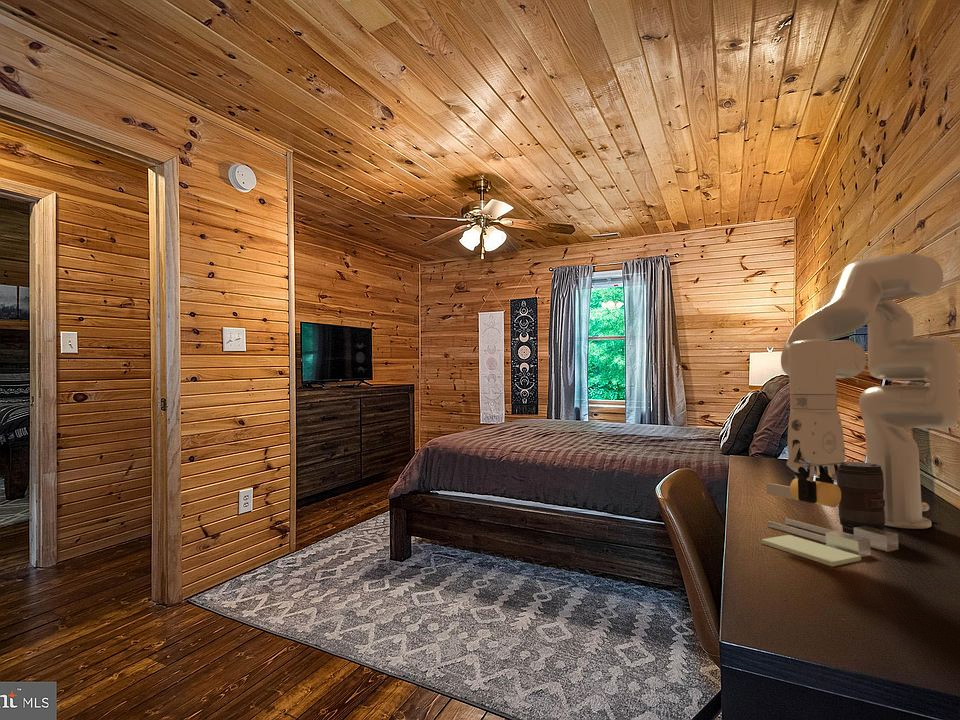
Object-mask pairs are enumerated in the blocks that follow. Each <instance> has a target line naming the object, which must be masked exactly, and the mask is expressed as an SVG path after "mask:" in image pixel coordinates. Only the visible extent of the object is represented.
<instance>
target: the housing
mask: <svg viewBox="0 0 960 720" xmlns="http://www.w3.org/2000/svg"><path fill="white" fill-rule="evenodd" d="M767 527H769V528H771V529H775V530H777V531H778V530H779V531H783V532H786V533H789V534H791V535H794V536H795V535H796V536H800V537H802V538H805V539H806V538H807V539H810V540H813V541H817V542H820V543H823V544H825V545H826V546H829V547H832V548H836V549H839V550H843V551H846V552H849V553H853V554H856V555H860V556H861V558H864V557H865V558H866V557H869V556H871V555H872V553H871V549H872V548H873V549H876V550H880V551H884V552H887V553H888V552H893V551H897V550H899V549H900V548H899V547H900V546H899V545H900V544H899V533H897V532H892V531H888V530H885V529H884V530H880V529H876V528H872V527H868V526H860V527H855V528H854V535H852V534H849V533H845V532H843V531H840V530H834V529H833V530H832V529H830V528H825V527H821V526H817V525H815V524H814V525H813V524H810V523H807V522H802V521H800V520H794V519H792V518H788V517H787V518H786V517H785V518H784V524H782V523H778V522H776V521H775V522H774V521H771V520H767ZM799 528H800V529H799ZM810 531H811V532H810Z"/></svg>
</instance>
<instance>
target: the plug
mask: <svg viewBox="0 0 960 720" xmlns="http://www.w3.org/2000/svg"><path fill="white" fill-rule="evenodd" d="M814 481H815V480H814ZM815 482H816V494H817V502H816V503H814V504H816V505H821V506H825V507H830V508H836V507H839V503H840V501H841V491H840V488H839V487H838V486H837V483H836V484H835V483H834V484H831V483H825V482H818V481H815ZM765 486H766V487H765V490H766V491H765V493H766V494H765V495H769V496H774V497H775V496H776V497H779V498H783V499H784V498H785V499H789V500H794V501H795V500H796V501H800V500H799V499H798V479H796V478H793V479H792V480H791V482H790V486H788V485H785V484H784V485H782V484H777V483H769V482H766V485H765Z"/></svg>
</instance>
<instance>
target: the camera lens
mask: <svg viewBox="0 0 960 720" xmlns="http://www.w3.org/2000/svg"><path fill="white" fill-rule="evenodd" d="M835 474H836V485H837V486H838V487H839V488H840V491H841V501H840V503H839V505H838V517H839V523H840V525H841V528H842V529H841V530H842V532H845V533H849V534H852V535H854V528H855V527H860V526H868V527H872V528H876V529H880V530H884V531H885V525H884V524H885V511H884V506H885V500H884V499H883V491H884V478H883V472H882V469H881V465H878V464H872V463H867V462H859V461H857V462H856V461H855V462H854V461H844V462H842V463H841V464H840V466H839V467H838V469H837V471H836V473H835Z"/></svg>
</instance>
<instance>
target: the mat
mask: <svg viewBox="0 0 960 720" xmlns="http://www.w3.org/2000/svg"><path fill="white" fill-rule="evenodd" d="M761 544H762V545H766V546H768V547H771V548H774V549H777V550H780V551H784V552H787V553H789V554H793V555H796V556H798V557H802V558H805V559H808V560H811V561H813V562H817V563H821V564H823V565H826V566H829V567H836V566H842V565H845V564H849V563H850V564H851V563H855V562H860V561H862V557H861V556H860V555H856V554H853V553H849V552H846V551H843V550H839V549H836V548H832V547H829V546H826V544H821V543H818V542H815V541H812V540H808V539H806V538H803V537H802V538H801V537H798V536H795V535H793V534H791V535H790V534H785V535H779V536H774V537H773V536H772V537H767V538H762V539H761Z"/></svg>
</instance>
